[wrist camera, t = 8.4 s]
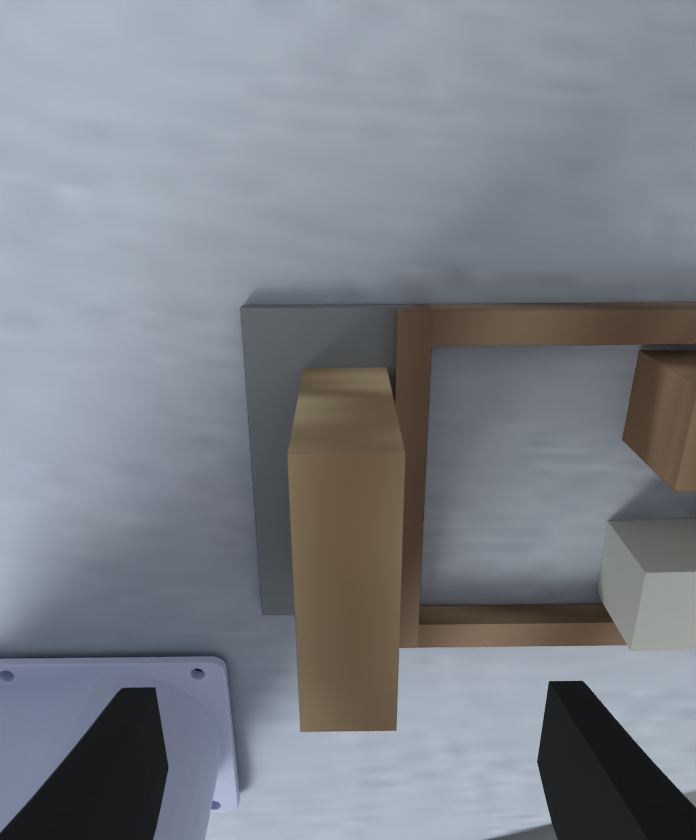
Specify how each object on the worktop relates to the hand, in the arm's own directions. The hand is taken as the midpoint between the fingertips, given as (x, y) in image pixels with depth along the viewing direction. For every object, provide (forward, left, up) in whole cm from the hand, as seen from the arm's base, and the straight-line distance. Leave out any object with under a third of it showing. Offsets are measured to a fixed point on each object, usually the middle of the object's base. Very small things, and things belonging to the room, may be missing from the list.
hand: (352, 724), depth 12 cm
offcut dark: (+10, +3, -10) cm, 15 cm away
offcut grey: (+10, -3, -10) cm, 15 cm away
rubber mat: (-1, 0, -10) cm, 10 cm away
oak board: (0, 0, -10) cm, 10 cm away
